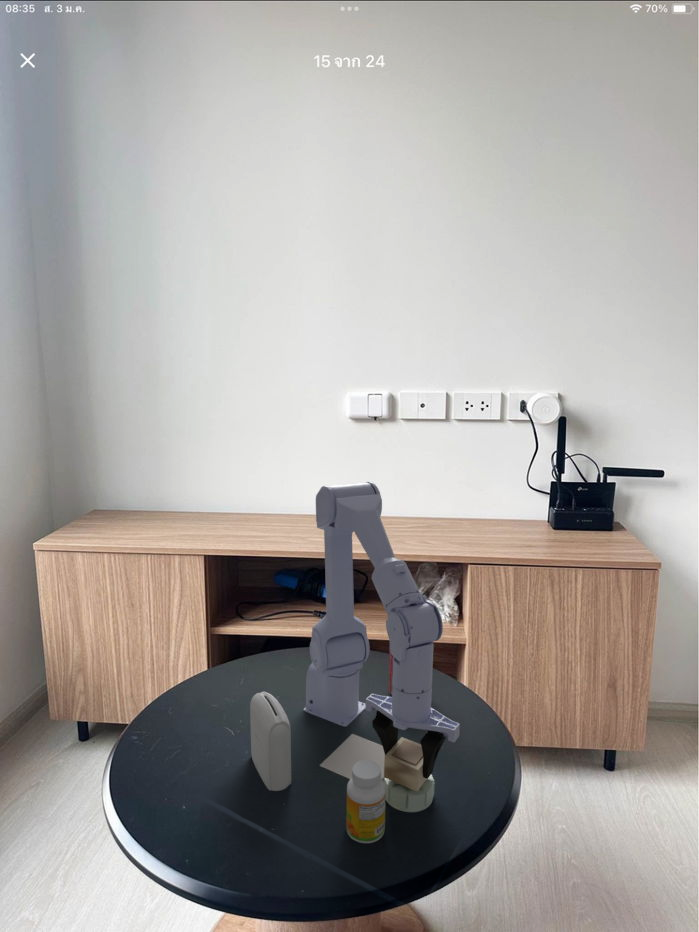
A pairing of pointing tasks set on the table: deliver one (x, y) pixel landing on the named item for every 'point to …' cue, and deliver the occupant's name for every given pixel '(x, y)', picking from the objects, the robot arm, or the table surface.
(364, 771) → the supplement bottle
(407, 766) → the beige square box
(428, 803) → the bowl
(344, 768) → the mat
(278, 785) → the photo printer
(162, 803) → the table surface
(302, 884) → the table surface
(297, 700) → the table surface
